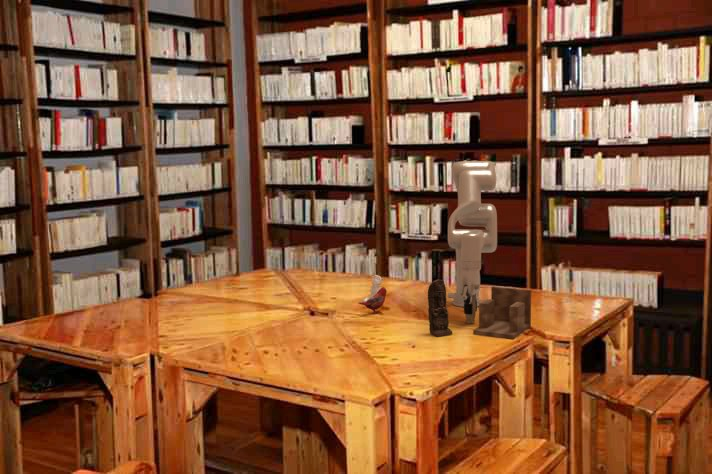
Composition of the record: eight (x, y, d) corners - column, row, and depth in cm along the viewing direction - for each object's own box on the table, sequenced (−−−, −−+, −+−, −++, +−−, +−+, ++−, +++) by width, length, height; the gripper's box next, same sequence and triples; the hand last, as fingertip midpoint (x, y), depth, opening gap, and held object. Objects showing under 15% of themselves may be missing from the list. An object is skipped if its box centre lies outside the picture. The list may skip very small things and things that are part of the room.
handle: (476, 325, 304) (476, 286, 302) (460, 323, 307) (460, 284, 305) (480, 322, 308) (480, 284, 306) (464, 320, 311) (464, 282, 309)
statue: (437, 337, 287) (437, 282, 285) (426, 332, 294) (426, 278, 291) (453, 334, 291) (453, 280, 288) (442, 330, 297) (442, 277, 294)
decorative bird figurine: (389, 310, 329) (389, 286, 328) (360, 318, 316) (360, 293, 315) (384, 309, 331) (384, 285, 330) (355, 317, 318) (354, 292, 317)
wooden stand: (473, 334, 291) (473, 296, 289) (492, 322, 308) (492, 286, 306) (513, 339, 284) (514, 300, 282) (530, 326, 301) (531, 289, 299)
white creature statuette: (361, 304, 342) (360, 276, 340) (368, 300, 350) (368, 272, 348) (382, 305, 339) (382, 277, 337) (389, 301, 346) (389, 274, 345)
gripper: (469, 261, 313) (469, 307, 316) (453, 267, 299) (452, 316, 302) (488, 262, 310) (487, 309, 312) (472, 269, 295) (471, 318, 298)
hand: (470, 312), depth 307 cm, fingers closed on handle, 3 cm apart
